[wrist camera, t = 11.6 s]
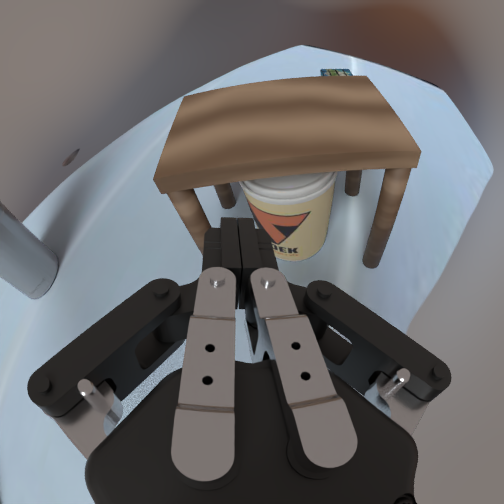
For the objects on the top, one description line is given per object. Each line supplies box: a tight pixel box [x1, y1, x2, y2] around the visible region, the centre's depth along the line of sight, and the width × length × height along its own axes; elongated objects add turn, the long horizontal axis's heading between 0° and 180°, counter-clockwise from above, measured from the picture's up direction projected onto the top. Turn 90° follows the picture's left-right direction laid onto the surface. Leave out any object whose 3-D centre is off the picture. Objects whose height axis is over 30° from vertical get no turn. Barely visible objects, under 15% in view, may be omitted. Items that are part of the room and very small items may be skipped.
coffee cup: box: [239, 171, 338, 261], centre depth 30 cm, size 9×9×12 cm
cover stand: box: [153, 76, 421, 268], centre depth 28 cm, size 13×19×17 cm
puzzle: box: [321, 69, 353, 76], centre depth 48 cm, size 6×6×6 cm
